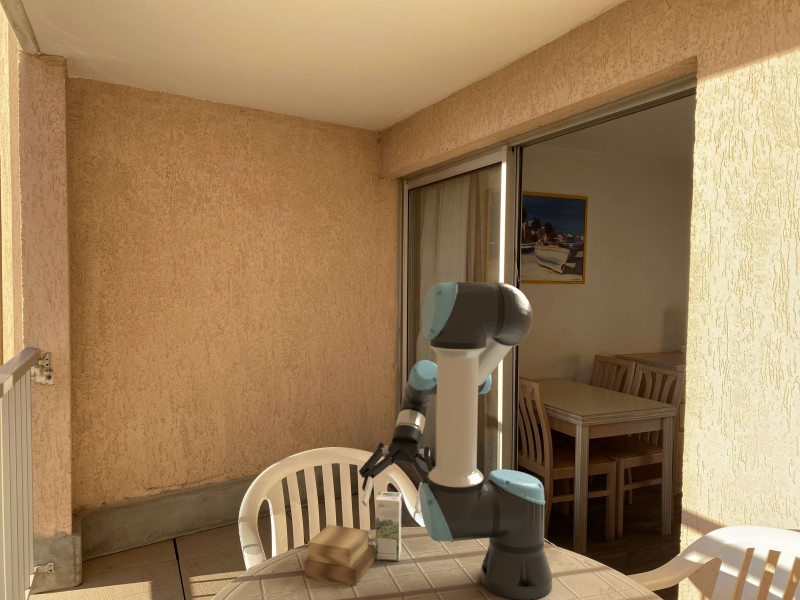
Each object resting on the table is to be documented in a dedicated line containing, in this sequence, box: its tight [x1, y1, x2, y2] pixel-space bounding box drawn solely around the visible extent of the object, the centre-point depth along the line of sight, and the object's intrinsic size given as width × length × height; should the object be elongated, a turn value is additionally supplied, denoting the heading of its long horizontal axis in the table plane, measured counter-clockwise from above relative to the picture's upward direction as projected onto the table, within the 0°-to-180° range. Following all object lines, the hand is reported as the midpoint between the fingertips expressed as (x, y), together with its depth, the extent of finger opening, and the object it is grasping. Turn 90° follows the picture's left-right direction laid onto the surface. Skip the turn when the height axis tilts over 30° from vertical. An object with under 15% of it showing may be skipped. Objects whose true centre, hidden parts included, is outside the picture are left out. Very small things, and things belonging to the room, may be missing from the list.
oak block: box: [307, 524, 369, 567], centre depth 128 cm, size 10×10×4 cm
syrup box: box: [374, 491, 402, 562], centre depth 135 cm, size 6×6×14 cm
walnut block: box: [304, 543, 376, 587], centre depth 128 cm, size 12×12×4 cm
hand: (390, 507), depth 138 cm, fingers open, 13 cm apart
